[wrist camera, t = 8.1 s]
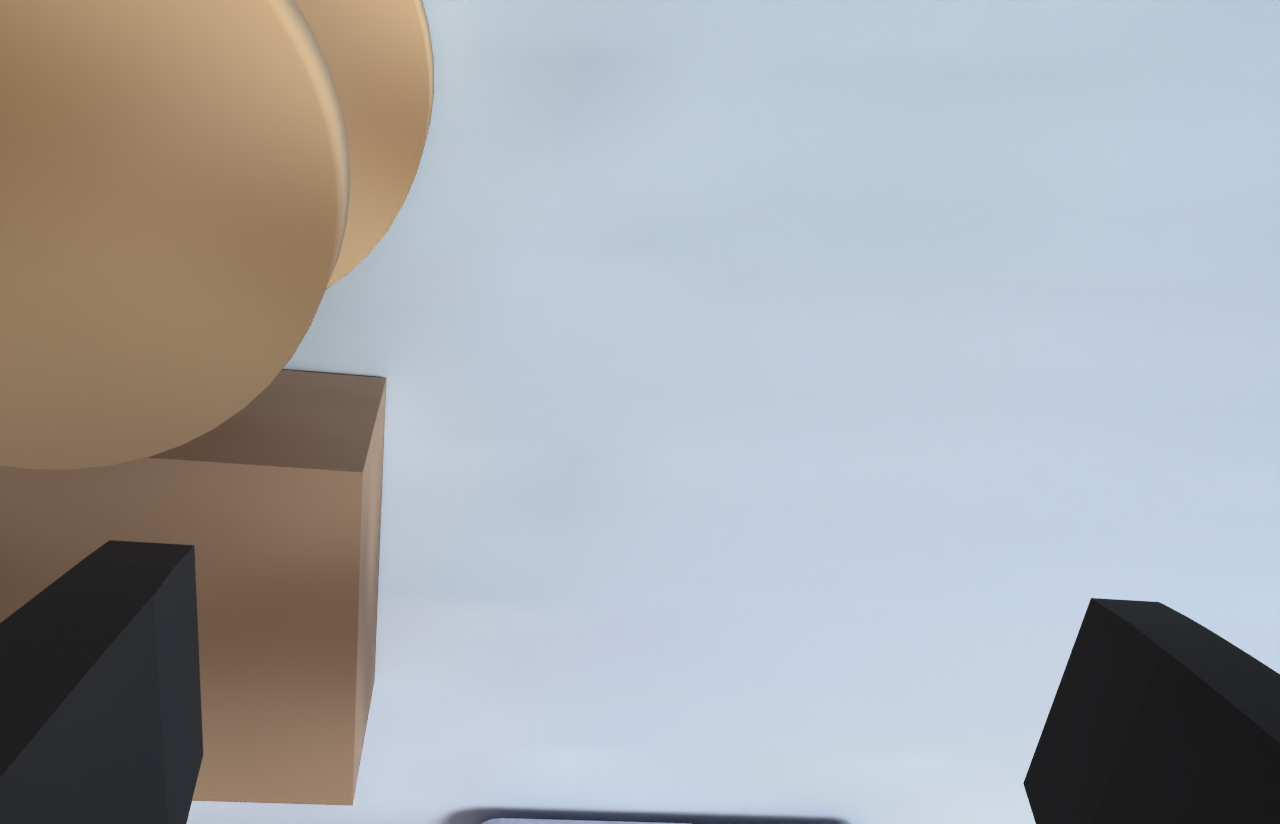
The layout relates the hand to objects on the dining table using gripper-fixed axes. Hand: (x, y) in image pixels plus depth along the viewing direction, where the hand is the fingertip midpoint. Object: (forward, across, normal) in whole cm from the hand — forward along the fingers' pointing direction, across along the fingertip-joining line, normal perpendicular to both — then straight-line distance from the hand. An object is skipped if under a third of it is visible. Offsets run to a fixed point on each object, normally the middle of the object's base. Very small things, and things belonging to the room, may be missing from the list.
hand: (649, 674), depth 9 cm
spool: (+9, +6, -2) cm, 11 cm away
